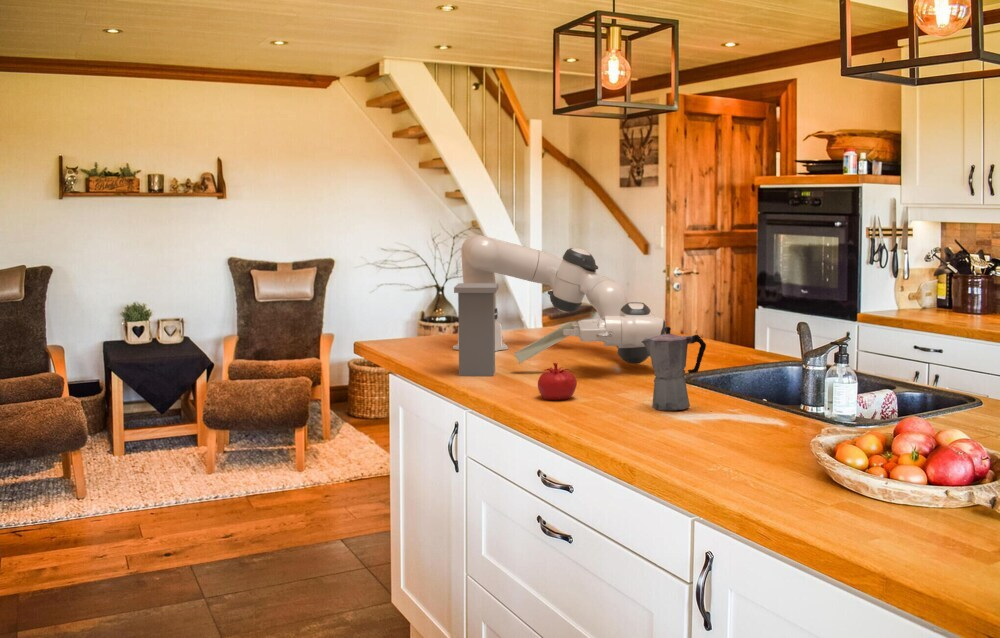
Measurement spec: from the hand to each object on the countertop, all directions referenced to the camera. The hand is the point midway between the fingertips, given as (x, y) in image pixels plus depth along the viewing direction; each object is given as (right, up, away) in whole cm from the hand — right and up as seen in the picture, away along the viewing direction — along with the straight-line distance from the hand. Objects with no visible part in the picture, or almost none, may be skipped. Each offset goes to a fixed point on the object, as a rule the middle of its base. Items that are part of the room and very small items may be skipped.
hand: (562, 330), depth 275 cm
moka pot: (+24, -19, -45) cm, 54 cm away
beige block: (-4, -5, +1) cm, 7 cm away
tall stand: (-25, -13, +3) cm, 28 cm away
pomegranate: (-4, -17, -33) cm, 37 cm away
